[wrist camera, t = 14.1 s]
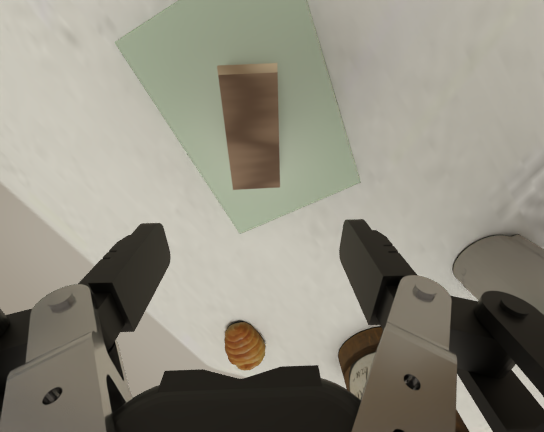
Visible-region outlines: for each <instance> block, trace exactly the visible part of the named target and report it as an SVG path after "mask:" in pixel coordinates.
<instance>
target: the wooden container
mask: <svg viewBox="0 0 544 432" xmlns="http://www.w3.org/2000/svg"><path fill="white" fill-rule="evenodd" d="M382 332H383V329H382V327H377V328H372V329H368V330H365V331H363V332H360V333H358V334H356V335H354V336H353V337H351V338H350V339H348V340H347V341H346V342H345V343H344V344H343V345H342V347H341V348H340V351H339V354H338V357H339V362H340V366H341V369H342V373H343V376H344V380H345V384H346V388H347V390H348V391H349V392H351V393H352V394H354V395H355V396H356V397H357V398H359V399H360V398H361V395H362V392H363V389H364V386H365V383H366V380H367V377H368V374H369V371H370V368H371V365H372V362H373V359H374V356H375V353H376V350H377V347H378V344H379V341H380V338H381V335H382ZM455 432H469V430H468V429H467V427H466V425H465V424H464V422H463V420H462V418H461V417H460V415H459V413H458V411H457V410H456V427H455Z"/></svg>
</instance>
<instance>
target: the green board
mask: <svg viewBox="0 0 544 432" xmlns="http://www.w3.org/2000/svg"><path fill="white" fill-rule="evenodd" d="M115 44H116V45H117V47H118V49H119V50H120V52H121V53H122V55H123V56H124V58H125V59H126V61H127V62H128V64H129V65H130V67H131V68H132V70H133V71H134V73H135V75H136V76H137V78H138V79H139V81H140V82H141V84H142V85H143V87H144V88H145V90H146V91H147V93H148V94H149V96H150V97H151V99H152V101H153V102H154V104H155V105H156V107H157V108H158V110H159V111H160V113H161V114H162V116H163V117H164V119H165V120H166V122H167V123H168V125H169V126H170V128H171V130H172V131H173V133H174V134H175V136H176V137H177V139H178V140H179V142H180V143H181V145H182V146H183V148H184V149H185V151H186V152H187V154H188V156H189V157H190V159H191V160H192V162H193V163H194V165H195V166H196V168H197V169H198V171H199V172H200V174H201V175H202V177H203V178H204V180H205V182H206V183H207V185H208V186H209V188H210V189H211V191H212V192H213V194H214V195H215V197H216V198H217V200H218V201H219V203H220V204H221V206H222V207H223V209H224V211H225V212H226V214H227V215H228V217H229V218H230V220H231V221H232V223H233V224H234V226H235V227H236V229H237V230H238V232H239V233H240V234H241V233H244V232H246V231H248V230H251V229H253V228H255V227H258V226H260V225H262V224H265V223H267V222H269V221H272V220H274V219H276V218H279V217H281V216H283V215H286V214H288V213H290V212H293V211H295V210H297V209H300V208H302V207H304V206H307V205H309V204H311V203H314V202H316V201H318V200H321V199H323V198H325V197H328V196H330V195H332V194H335V193H337V192H339V191H342V190H344V189H347V188H349V187H351V186H354V185H356V184H358V183H361V182H360V178H359V175H358V172H357V168H356V165H355V162H354V158H353V155H352V151H351V148H350V145H349V141H348V138H347V135H346V131H345V128H344V125H343V121H342V118H341V114H340V111H339V108H338V104H337V101H336V98H335V94H334V91H333V87H332V84H331V81H330V77H329V74H328V71H327V67H326V64H325V60H324V57H323V54H322V50H321V47H320V44H319V40H318V37H317V34H316V30H315V27H314V23H313V20H312V17H311V13H310V10H309V7H308V3H307V0H178V1H177V2H175V3H174V4H172V5H171V6H169V7H168V8H166V9H165V10H163V11H162V12H160V13H159V14H157V15H156V16H154V17H153V18H151V19H149V20H148V21H146V22H145V23H143V24H142V25H140V26H139V27H137V28H136V29H134V30H133V31H131V32H130V33H128V34H127V35H125V36H124V37H122V38H120V39H119V40H117V41H116V42H115ZM265 63H277V71H278V114H279V158H280V187H279V188H260V189H241V190H233V186H232V179H231V171H230V163H229V155H228V148H227V140H226V132H225V124H224V117H223V109H222V101H221V94H220V86H219V78H218V70H217V66H218V65H242V64H265Z"/></svg>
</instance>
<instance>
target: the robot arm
mask: <svg viewBox="0 0 544 432" xmlns="http://www.w3.org/2000/svg"><path fill="white" fill-rule="evenodd" d="M339 253H340V260H341V263H342V265H343V268H344V270H345V272H346V275H347V277H348V279H349V281H350V284H351V286H352V288H353V290H354V293H355V295H356V297H357V300H358V302H359V304H360V306H361V309H362V311H363V313H364V315H365V318H366V320H367V322H368V325H381V327H382V329H383V332H382V335H381V338H380V341H379V344H378V347H377V350H376V353H375V356H374V359H373V362H372V365H371V368H370V371H369V374H368V377H367V380H366V383H365V386H364V389H363V392H362V395H361V398H360V399H359V398H357V397H356V396H355V395H354V394H352V393H351V392H349V391H348V390H347V389H345V388H343V387H341V386H340V385H338V384H336V383H333V382H331V381H328V380H325V379H322V378H320V373H319V368H318V365H315V366H288V367H279V368H275V369H272V370H269V371H266V372H263V373H260V374H257V375H254V376H250V377H247V378H244V379H237V378H233V377H230V376H226V375H222V374H218V373H214V372H210V371H207V370H178V371H165V372H164V375H163V378H162V380H161V383H160V385H159V386H155V387H153V388H151V389H149V390H146V391H144V392H143V393H141V394H139V395H137V396H135V397H134V398H133V397H132V394H131V391H130V388H129V385H128V381H127V377H126V373H125V369H124V365H123V361H122V357H121V353H120V349H119V345H118V342H117V341H116V338H117V337H118V335H119V333H120V332H134V331H135V329H136V327H137V325H138V323H139V321H140V319H141V318H142V316H143V314H144V312H145V310H146V308H147V306H148V304H149V302H150V301H151V299H152V297H153V295H154V293H155V291H156V289H157V287H158V285H159V283H160V282H161V280H162V278H163V276H164V274H165V272H166V270H167V268H168V266H169V264H170V250H169V246H168V243H167V239H166V235H165V231H164V228H163V226H162V224H160V223H143V224H140V225H139V226H138V227H137V229H136V230H135V231H134V232H133V233H132V234H131V235H128V236H126V237H125V238H123V239H122V240H120V241H118V242H117V243H116V244H115V245H114V246H113V247H112V248H111V249H110V250H109V252H108V253H107V254H106V255H105V256H104V257H103V259H101V260H100V261H99V262H98V263H97V264H96V265H95V266H94V267H93V269H92V270H91V271H90V272H89V273H88V274H87V275H86V276H85V277H84V278H83V279H82V280H81V281H80V283H78V284H74V285H69V286H65V287H62V288H60V289H57V290H55V291H53V292H51V293H50V294H48V295H46V296H45V297H44V298H42V299H41V300H40V301H39V302H38V303H37V304H36V305H35V306H34V307H33V309H29V310H25V311H21V312H17V313H13V314H9V315H5V314H4V313H3V311H2V310H1V309H0V432H455V427H456V387H457V374H458V376H459V377H460V379H461V380H462V382H463V384H464V385H465V387H466V389H467V390H468V392H469V393H470V395H471V397H472V398H473V400H474V402H475V403H476V405H477V406H478V408H479V410H480V411H481V413H482V415H483V416H484V418H485V419H486V421H487V423H488V424H489V426H490V428H491V429H492V431H493V432H544V409H543V408H542V407H541V406H540V404H539V403H538V402H537V401H536V399H535V398H534V397H533V396H532V394H531V393H530V392H529V391H528V390H527V388H526V387H525V386H524V385H523V383H522V382H521V381H520V380H519V379H518V377H517V376H516V375H515V374H514V372H513V371H512V370H511V369H512V368H513V367H514V366H515V364H517V365H518V367H519V368H520V369H521V370H522V371H523V373H524V374H525V375H526V376H527V377H528V378H529V380H530V381H531V382H532V383H533V384H534V386H535V387H536V388H537V389H538V390H539V391H540V393H541V394H542V395H543V397H544V249H543V248H541V247H540V246H538V245H536V244H534V243H533V242H531V241H529V240H528V239H526V238H524V237H522V236H521V235H519V234H518V235H515V236H504V235H496V236H491V237H487V238H484V239H481V240H479V241H477V242H475V243H474V244H472V245H471V246H469V247H468V248H467V249H465V250H464V251H463V252H462V253H461V254H460V255H459V257H458V258H457V260H456V261H455V264H454V267H453V273H454V276H455V277H456V278H457V279H458V280H459V281H460V282H461V283H462V284H463V286H464V287H465V288H466V289H467V290H469V291H470V292H471V293H472V294H473V295H474V296H475V297H476V298H477V299H478V300H479V301H478V302H477V301H473V300H468V299H463V298H458V297H453V296H450V294H449V293H448V292H447V290H446V289H445V288H444V287H442V286H441V285H440V284H438V283H437V282H435V281H433V280H431V279H429V278H426V277H422V276H418V275H417V274H416V273H415V272H414V270H413V269H412V268H411V267H410V266H409V264H408V263H407V262H406V261H405V259H404V258H403V257H402V256H401V254H400V253H398V251H397V250H396V248H395V247H394V246H392V243H391V242H390V241H389V240H388V238H387V237H386V236H384V235H383V234H381V233H379V232H378V231H376V230H371V228H370V227H369V226H368V224H367V223H366V222H365V220H363V219H358V220H345V222H344V225H343V231H342V237H341V243H340V250H339Z"/></svg>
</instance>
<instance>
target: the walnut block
mask: <svg viewBox="0 0 544 432" xmlns="http://www.w3.org/2000/svg"><path fill="white" fill-rule="evenodd" d="M217 70H218V78H219V86H220V94H221V101H222V109H223V117H224V124H225V132H226V140H227V148H228V155H229V163H230V171H231V179H232V186H233V190H241V189H260V188H279V187H280V158H279V114H278V71H277V63H265V64H242V65H218V66H217Z"/></svg>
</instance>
